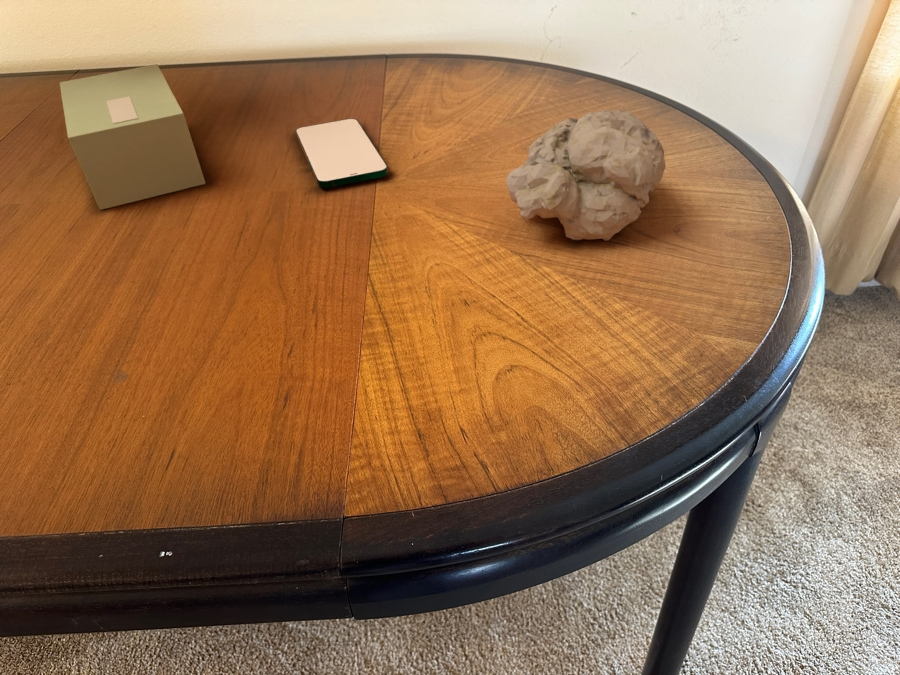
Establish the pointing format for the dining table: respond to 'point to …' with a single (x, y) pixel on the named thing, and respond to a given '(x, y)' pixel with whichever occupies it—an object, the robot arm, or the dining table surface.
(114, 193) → the tissue box
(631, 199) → the mineral
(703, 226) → the dining table surface
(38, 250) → the dining table surface
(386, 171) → the smartphone
